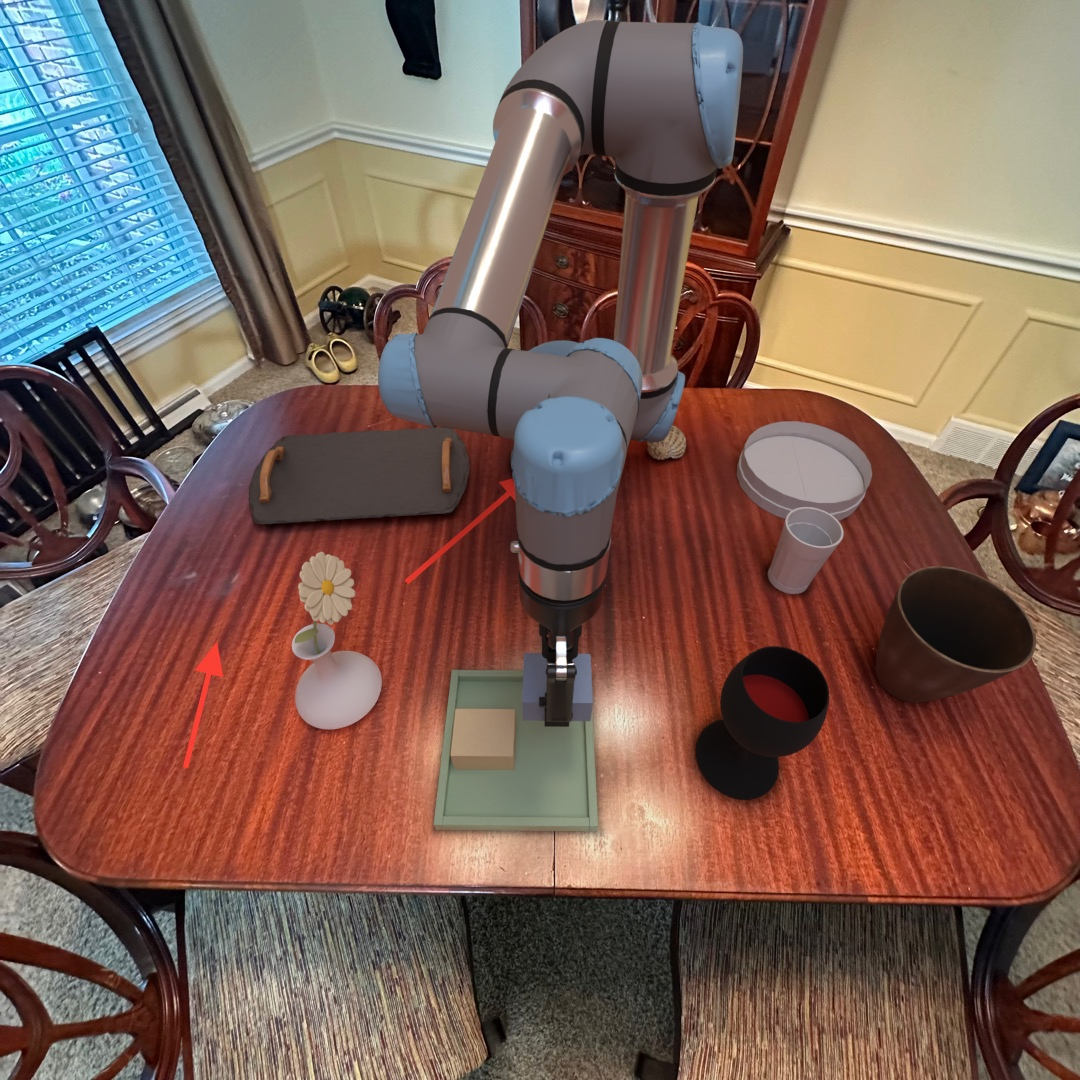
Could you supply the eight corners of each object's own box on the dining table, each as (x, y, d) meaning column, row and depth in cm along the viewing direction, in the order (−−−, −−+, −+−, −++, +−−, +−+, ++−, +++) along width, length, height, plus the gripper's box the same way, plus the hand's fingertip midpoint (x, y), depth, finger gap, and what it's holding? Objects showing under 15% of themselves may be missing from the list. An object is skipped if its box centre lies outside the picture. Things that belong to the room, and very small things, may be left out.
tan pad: (454, 769, 75) (450, 755, 71) (459, 723, 79) (455, 708, 75) (514, 770, 75) (513, 756, 71) (516, 724, 79) (515, 708, 75)
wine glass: (686, 722, 79) (720, 642, 64) (763, 716, 80) (814, 635, 65) (707, 804, 72) (751, 736, 57) (791, 796, 73) (856, 727, 58)
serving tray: (241, 536, 101) (226, 510, 96) (270, 446, 116) (259, 421, 112) (471, 522, 103) (468, 496, 98) (470, 436, 118) (467, 410, 114)
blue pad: (523, 720, 67) (522, 702, 64) (524, 672, 71) (523, 652, 68) (590, 721, 67) (593, 703, 64) (588, 673, 71) (590, 653, 68)
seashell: (642, 449, 120) (647, 463, 111) (645, 419, 118) (650, 430, 108) (681, 451, 120) (689, 465, 110) (685, 421, 117) (693, 432, 108)
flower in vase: (342, 751, 77) (278, 649, 58) (280, 706, 81) (202, 598, 62) (409, 673, 84) (371, 560, 65) (349, 636, 88) (297, 519, 69)
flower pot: (987, 698, 82) (1065, 635, 69) (914, 752, 77) (984, 694, 65) (895, 618, 90) (950, 549, 78) (824, 662, 85) (871, 595, 73)
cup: (816, 602, 92) (847, 551, 83) (763, 593, 93) (787, 543, 84) (812, 562, 97) (839, 511, 88) (761, 554, 98) (783, 503, 89)
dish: (742, 518, 104) (749, 498, 100) (730, 437, 118) (737, 416, 114) (875, 529, 102) (888, 509, 98) (847, 445, 116) (857, 425, 113)
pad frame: (435, 830, 71) (433, 824, 69) (453, 676, 84) (451, 669, 82) (597, 831, 71) (598, 826, 69) (589, 677, 84) (590, 670, 82)
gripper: (521, 491, 58) (525, 625, 75) (514, 667, 45) (521, 779, 62) (599, 492, 58) (585, 625, 75) (614, 668, 45) (593, 779, 62)
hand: (556, 695), depth 69 cm, fingers closed on blue pad, 6 cm apart
